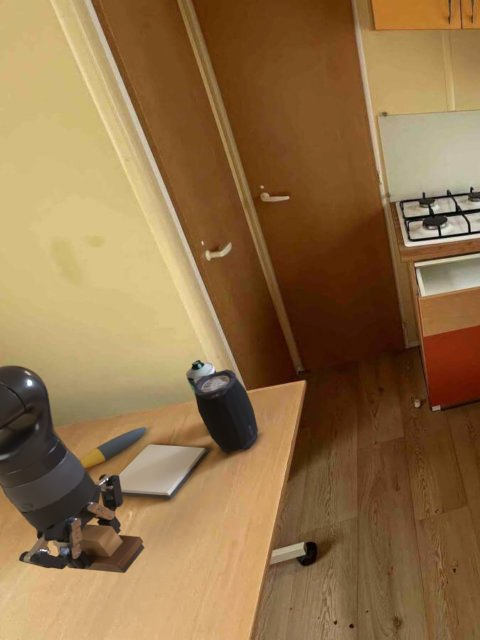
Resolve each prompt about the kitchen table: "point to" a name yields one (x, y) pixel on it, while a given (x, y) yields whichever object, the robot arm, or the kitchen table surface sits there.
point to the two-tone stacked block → (109, 548)
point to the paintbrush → (111, 448)
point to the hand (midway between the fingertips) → (100, 548)
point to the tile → (160, 471)
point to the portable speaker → (226, 411)
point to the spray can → (199, 372)
